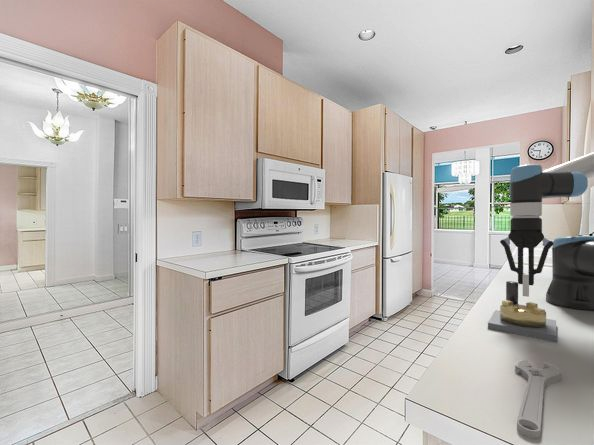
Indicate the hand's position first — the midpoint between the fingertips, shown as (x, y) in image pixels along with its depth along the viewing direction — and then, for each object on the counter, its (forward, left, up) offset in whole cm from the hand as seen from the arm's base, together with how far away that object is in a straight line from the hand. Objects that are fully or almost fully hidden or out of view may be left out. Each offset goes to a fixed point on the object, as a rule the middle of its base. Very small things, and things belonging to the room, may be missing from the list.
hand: (525, 295), depth 90 cm
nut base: (+8, +5, -6) cm, 11 cm away
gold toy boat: (+7, +4, -5) cm, 9 cm away
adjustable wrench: (+38, +31, -7) cm, 49 cm away
